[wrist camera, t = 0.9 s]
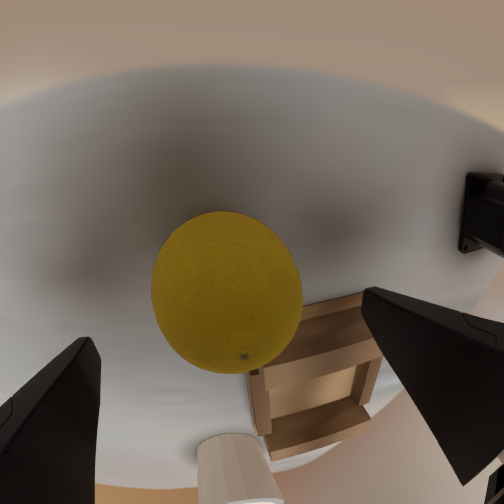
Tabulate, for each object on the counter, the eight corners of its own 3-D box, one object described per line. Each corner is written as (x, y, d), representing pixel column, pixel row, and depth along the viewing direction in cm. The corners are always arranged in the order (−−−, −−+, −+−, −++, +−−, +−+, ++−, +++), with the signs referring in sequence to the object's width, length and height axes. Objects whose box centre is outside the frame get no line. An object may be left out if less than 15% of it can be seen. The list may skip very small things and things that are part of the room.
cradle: (372, 289, 18) (407, 321, 14) (351, 398, 22) (371, 429, 19) (238, 319, 16) (253, 366, 13) (253, 426, 21) (264, 464, 17)
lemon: (137, 242, 14) (97, 348, 6) (226, 172, 13) (274, 210, 6) (206, 314, 16) (227, 434, 9) (287, 255, 16) (364, 349, 8)
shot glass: (206, 468, 23) (216, 525, 16) (177, 440, 20) (184, 510, 14) (271, 452, 24) (290, 509, 17) (255, 421, 21) (277, 492, 14)
